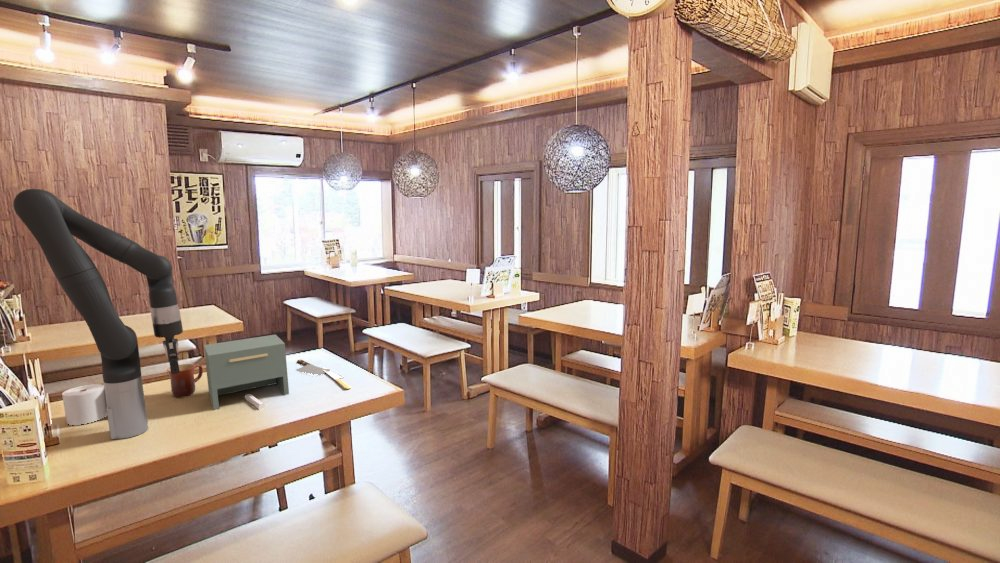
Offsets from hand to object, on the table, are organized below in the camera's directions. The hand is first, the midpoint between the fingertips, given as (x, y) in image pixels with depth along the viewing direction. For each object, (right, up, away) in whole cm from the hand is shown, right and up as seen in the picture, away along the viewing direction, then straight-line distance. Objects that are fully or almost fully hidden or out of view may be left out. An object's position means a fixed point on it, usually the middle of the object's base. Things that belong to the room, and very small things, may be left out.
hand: (174, 369), depth 161 cm
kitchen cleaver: (+22, -9, +53) cm, 58 cm away
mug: (-12, -14, +27) cm, 33 cm away
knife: (+38, -11, +42) cm, 57 cm away
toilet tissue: (-32, -17, +6) cm, 36 cm away
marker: (+17, -15, +17) cm, 28 cm away
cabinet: (+11, -13, +24) cm, 30 cm away
